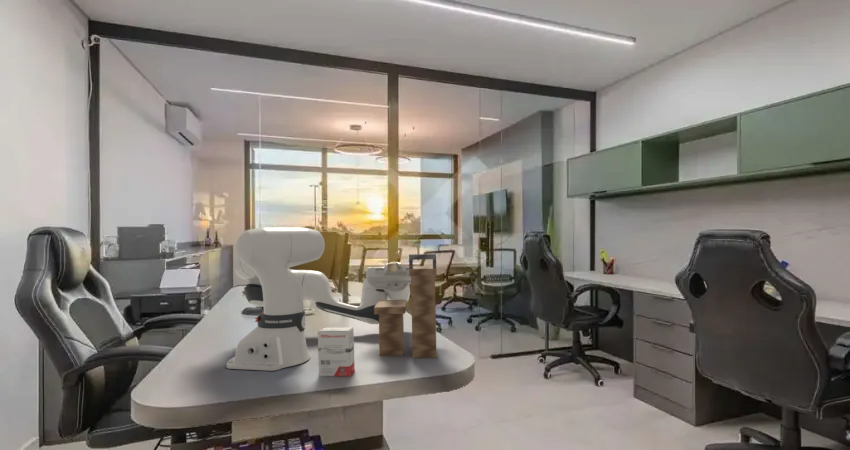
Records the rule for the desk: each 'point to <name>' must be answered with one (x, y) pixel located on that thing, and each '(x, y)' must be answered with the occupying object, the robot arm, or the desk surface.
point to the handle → (392, 266)
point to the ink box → (336, 351)
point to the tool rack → (421, 314)
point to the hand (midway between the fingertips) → (394, 265)
